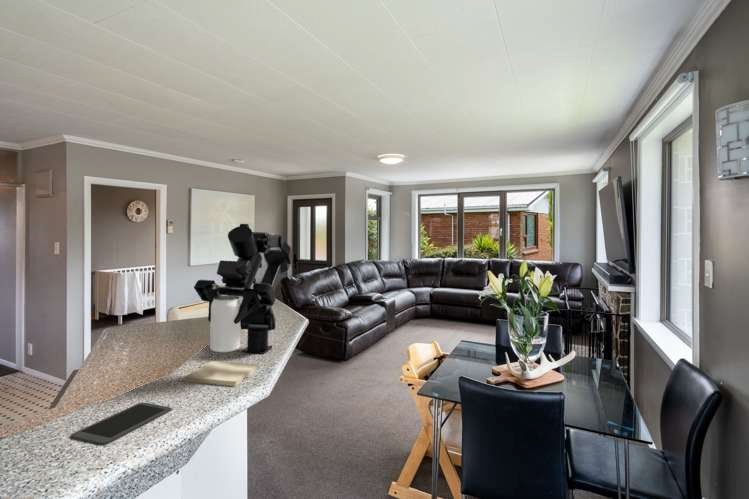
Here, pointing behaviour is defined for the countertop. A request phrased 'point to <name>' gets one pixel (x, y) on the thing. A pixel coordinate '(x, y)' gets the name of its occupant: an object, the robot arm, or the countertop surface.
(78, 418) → the countertop surface
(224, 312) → the can
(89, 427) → the cell phone
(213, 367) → the coaster
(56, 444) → the countertop surface
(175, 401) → the countertop surface
